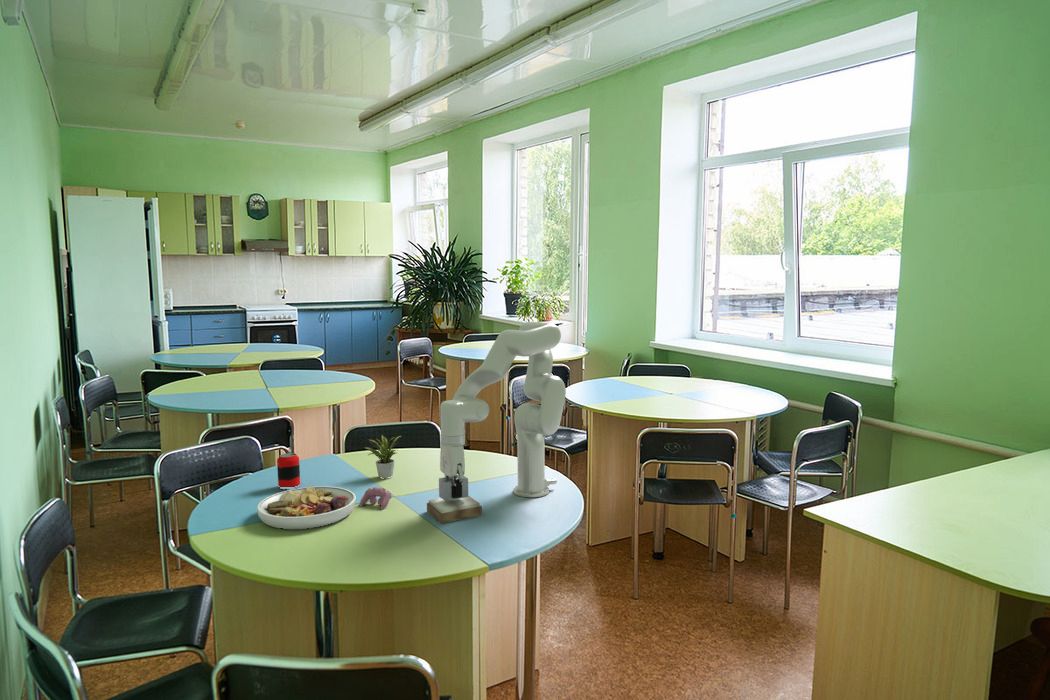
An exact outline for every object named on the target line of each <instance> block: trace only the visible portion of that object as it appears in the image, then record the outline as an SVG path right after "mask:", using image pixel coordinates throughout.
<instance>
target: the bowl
mask: <svg viewBox="0 0 1050 700" xmlns="http://www.w3.org/2000/svg"><path fill="white" fill-rule="evenodd" d="M356 498H357V497H356V494H355V493H354V492H353V491H351V490H349V489H346V488H343V487H339V486H338V487H337V486H327V485H326V486H313V485H312V486H307V487H299V488H297V489H292V490H282V491H281V492H277V493H274V494H272V495H269V496H267V497H265V498H264V499H262V500H261V501H260V502H259V503H258V504H257V507H256V509H257V515H258V517H259V519H260V520H261V521H262V522H263V523H264V524H265V525H267V526H269V527H272V528H277V529H280V528H283V529H282V530H308V529H307V528H309V529H314V527H316V528H319V527H320V526H321V527H325V526H328V524H329V525H332V524H334V523H336V522H339V521H341V520H343V519H345V518H346V517H348V516H349V515H350V514H351V513H352V511H353V510H354V509H355V506H356V502H357V499H356ZM331 523H332V524H331ZM324 525H325V526H324Z"/></svg>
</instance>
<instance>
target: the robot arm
mask: <svg viewBox="0 0 1050 700" xmlns="http://www.w3.org/2000/svg"><path fill="white" fill-rule="evenodd" d="M561 333H562V332H561V329H560V327H558V326H557V325H556V324H555V323H552V322H551V323H550V322H541V321H540V322H539V321H526V322H524V323H522V324H521V325H520V326H519V329H505V330H502V331H501V332H500V333H499V334H498V336H497V337H496V339H495V341H494V342H493V344H492V346H491V348H490V349H489V351H488V353H487V355H486V357H485V358H484V360H483V362H482V364H481V365H480V366H479V367H478V368H476V369H475V370H474V371H473V372H471V373H470V375H468V376H467V377H466V378H465V379H464V380H463V381H462V382H461V383H460V385H459V387H458V388H457V390H456V391H455V392H454V393H455V394H454V395H453V398H452V399H450V400H449V399H448V400H444V401H442V402H441V403H440V414H439V415H440V454H439V455H440V456H439V457H440V458H439V460H440V461H439V470H440V471H441V472H442V474H443V475H444V477H450V478H452V479H453V486H452V498H459V497H462V485H463V483H462V482H463V480H464V476H465V474H466V462H465V461H466V460H465V449H464V445H465V444H466V443H465V440H466V439H465V435H466V434H465V423H478V422H482V421H484V420H486V419H487V417H488V416H489V414H490V407H489V404H488V403H487V402H486V401H485V400H483V399H481V398H477V397H476V396H477V395H478V394H480V393H479V392H480V391H482V390H483V389H484V388H486V387H487V386H491V385H492V384H495V383H498V382H499V381H502V380H504V378H505V377H506V375H507V373H508V371H509V369H510V367H511V366H512V364H513V361H514V360H515V358H516V357H517V356H518V357H528V361H527V362H528V363H527V368H526V375H525V380H524V386H523V393H524V395H525V396H526V397H527V398H528V399H530V400H533V401H538V402H540V404H538V403H532V402H526V403H522V404H520V405H519V406H518V407H517V408H516V409H515V412H514V421H513V422H514V426H515V430H516V440H517V441H516V443H517V444H516V445H517V446H516V447H517V485H516V486H514V488H513V490H512V491H513V494H514V495H516V496H518V497H522V498H541V497H544V496H546V495H548V494H549V493H550V488H549V486H550V485H556V484H557V482H558V481H557V479H556V478H551V479H550V478H549V477H545V474H546V473H545V469H546V468H545V467H546V466H545V448H546V447H545V439H544V436H552V435H553V434H555V433H556V432H557V431H558V429H559V427H560V424H561V421H562V415H563V410H564V406H565V400H566V399H565V398H566V393H567V392H566V391H567V390H566V385H565V383H564V381H563V378H560V376H557V375H555V374H554V375H553V374H552V371H553V364H554V363H553V361H554V357H553V353H552V351H551V349H553V348H555V347H556V346H557V345H558V344H559V343H560V341H561V337H562V334H561ZM456 474H457V475H458V476H455V475H456ZM458 477H459V478H458ZM455 478H458V479H457V480H456V479H455Z"/></svg>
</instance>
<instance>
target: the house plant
mask: <svg viewBox="0 0 1050 700" xmlns="http://www.w3.org/2000/svg"><path fill="white" fill-rule="evenodd" d="M399 438H401V435H399V436H394V437H391V438H390V440H388V439H387V438H386V436H384V435H381V441H380V439H378V438H376V440H377V441H378V442H379V443H378V442H377V441H376V440H373V439H367V440H369V441H370V442H372V444H373V443H374V444H373V445H374V447H376V448H377V450H376V449H374V448H371V447H364V449H366V450H368V451H369V452H371V453H368V454H367V456H370V455H374V456H376V457H377V458H378V460H376V461H375V466H376V470H377V475H378V478H379V477H382V478H388V477H391V476H394V470H395V469H394V468H395V459H392V457H393V456H394V455H397V452H396V451H397V449H394V446H396V445H397V443H396V441H397V440H398V439H399ZM390 442H391V443H390ZM389 445H390V446H389Z"/></svg>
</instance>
